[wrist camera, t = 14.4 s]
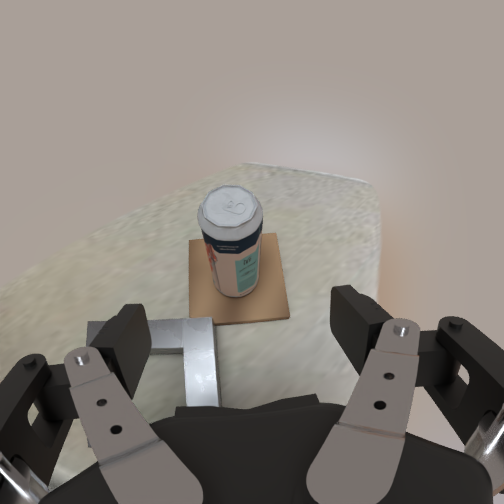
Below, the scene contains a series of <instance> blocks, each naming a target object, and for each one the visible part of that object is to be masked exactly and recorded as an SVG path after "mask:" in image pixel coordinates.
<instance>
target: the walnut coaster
mask: <svg viewBox="0 0 504 504" xmlns="http://www.w3.org/2000/svg"><path fill="white" fill-rule="evenodd" d="M189 316H190V318H201V317H212V318H213V321H214V323H215V326H217V325H230V324H242V323H253V322H263V321H273V320H282V319H289V317H290V314H289V308H288V301H287V295H286V289H285V283H284V277H283V271H282V265H281V259H280V253H279V247H278V241H277V235H276V233H268V234H262V239H261V253H260V268H259V279H258V282H257V285H256V287H255V288H254V289H253V290H252V291H251V292H250V293H248V294H247V295H245V296H242V297H229V296H226V295H224V294H222V293H221V292H219V291H218V289H217V288H216V287H215V285H214V282H213V275H212V271H211V267H210V263H209V259H208V255H207V251H206V247H205V242H204V239H196V240H189Z"/></svg>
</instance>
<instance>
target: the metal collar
mask: <svg viewBox="0 0 504 504" xmlns="http://www.w3.org/2000/svg"><path fill="white" fill-rule="evenodd" d="M106 322H107V321H88V326H87V340H86V347H88V346H89V345H90V343H91V342H92V341H93V339H94V338H95V337H96V335H97V334H98V332H99V331H100V330H101V329H102V327H103V326H104V324H105V323H106ZM147 322H148V326H149V330H150V334H151V339H152V348H151V351H150V354H184V370H185V387H186V402H187V406H216V407H222V403H221V392H220V381H219V369H218V356H217V342H216V327H215V323H214V321H213V318H212V317H201V318H185V319H166V320H147ZM87 440H88V438H87ZM88 447H90V448H92V447H91V445H90V442H89V440H88Z"/></svg>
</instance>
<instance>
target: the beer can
mask: <svg viewBox="0 0 504 504" xmlns="http://www.w3.org/2000/svg"><path fill="white" fill-rule="evenodd" d="M197 218H198V222H199V225H200V227H201V230H202V234H203V238H204V242H205V247H206V251H207V255H208V259H209V263H210V267H211V271H212V275H213V282H214V285H215V287H216V288H217V289H218V291H219V292H221V293H222V294H224V295H226V296H229V297H242V296H245V295H247V294H248V293H250V292H251V291H252V290H253V289H254V288H255V287H256V285H257V282H258V279H259V268H260V253H261V239H262V224H263V209H262V206H261V204H260V202H259V201H258V199H257V198H256V197H255V196H254V194H253V192H251V191H249V190H247V189H246V188H244V187H242V186H241V185H222V186H219V187H217V188H215V189H213V190H211V191H209V192H208V194H207V195H206V197H205V198H204V200H203V202H202V203H201V205H200V207H199V209H198V215H197Z"/></svg>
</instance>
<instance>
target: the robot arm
mask: <svg viewBox="0 0 504 504" xmlns="http://www.w3.org/2000/svg"><path fill="white" fill-rule="evenodd" d="M330 327H331V331H332V334H333V335H334V337H335V338H336V340H337V341H338V343H339V345H340V346H341V348H342V349H343V351H344V352H345V354H346V356H347V357H348V359H349V360H350V362H351V363H352V365H353V367H354V368H355V370H356V371H357V373H358V374H359V376H360V377H359V380H358V382H357V384H356V386H355V389H354V391H353V393H352V395H351V397H350V399H349V402H348V404H347V406H343V405H339V404H333V403H319V400H318V398H317V395H316V394H311V395H305V396H299V397H293V398H286V399H281V400H278V401H274V402H271V403H268V404H265V405H261V406H258V407H255V408H251V409H234V408H224V407H216V406H183V407H176V411H175V416H173V417H169V418H165V419H162V420H159V421H156V422H154V423H152V424H150V425H149V424H148V423H147V422H146V420H145V419H144V418H143V416H142V415H141V413H140V412H139V411H138V409H137V408H136V406H135V405H134V403H133V402H132V400H133V397H134V394H135V391H136V389H137V386H138V383H139V380H140V378H141V375H142V372H143V370H144V367H145V364H146V362H147V359H148V357H149V354H150V351H151V348H152V339H151V334H150V330H149V326H148V322H147V318H146V313H145V309H144V306H143V305H142V304H125V305H124V306H123V308H122V309H121V310H120V312H119V313H118V315H117V316H114V317H112V318H111V319H109V320H108V321H107V322H106V323H105V324H104V326H103V327H102V329H101V330H100V331H99V332H98V334H97V335H96V337H95V338H94V339H93V341H92V342H91V343H90V345H89V346H88V347H80V348H77V349H75V350H73V351H71V352H69V353H68V354H67V355H66V356H65V358H64V364H57V365H48V363H47V361H46V358H45V357H44V356H43V355H42V354H31V355H27V356H25V357H23V358H22V359H20V360H19V361H18V362H17V363H16V365H15V366H14V367H13V368H12V370H11V371H10V372H9V373H8V375H7V376H6V377H5V378H4V380H3V381H2V382H1V383H0V504H493V496H495V495H496V494H498V493H501V494H504V350H503V349H501V348H500V347H499V346H498V345H497V344H496V343H494V342H493V341H492V340H491V339H489V338H488V337H487V336H486V335H485V334H483V333H482V332H481V331H480V330H478V329H477V328H476V327H475V326H473V325H472V324H471V323H469V322H468V321H467V320H465V319H463V318H459V317H454V316H449V317H444V318H442V319H441V320H440V321H439V324H438V329H437V330H432V331H420V327H419V326H418V324H417V323H415V322H413V321H411V320H407V319H402V318H396V319H394V318H393V317H392V316H390V315H389V314H388V313H387V312H386V311H385V310H384V309H383V308H382V307H381V306H380V305H379V304H377V303H376V302H375V301H374V300H373V299H372V298H371V297H368V296H366V295H364V294H359V293H358V292H357V291H356V290H355V289H354V288H353V287H352V286H351V285H343V286H335V287H332V290H331V305H330ZM461 364H462V365H463V366H464V367H465V369H466V370H467V371H468V373H469V384H468V385H467V384H466V383H465V382H464V381H463V380H462V378H461V377H460V376H459V375H458V372H459V369H460V366H461ZM420 386H423V387H424V388H425V390H426V391H427V392H428V394H429V395H430V396H431V398H432V399H433V401H434V402H435V404H436V405H437V406H438V408H439V409H440V411H441V412H442V413H443V415H444V416H445V418H446V419H447V420H448V422H449V423H450V425H451V426H452V428H453V429H454V431H455V432H456V434H457V435H458V436H459V438H460V439H461V441H462V442H463V444H464V445H465V449H464V453H463V452H460V451H457V450H454V449H451V448H448V447H445V446H442V445H439V444H437V443H434V442H431V441H428V440H426V439H423V438H421V437H418V436H415V435H413V434H410V433H408V432H406V428H407V423H408V419H409V414H410V409H411V405H412V400H413V394H414V389H415V387H420ZM32 403H34V405H35V406H36V408H37V410H38V411H39V413H38V415H37V417H36V419H35V421H34V422H33V424H32V426H31V425H30V424H29V421H28V410H29V409H30V407H31V405H32ZM77 418H80V420H81V423H82V426H83V428H84V431H85V433H86V435H87V438H88V440H89V442H90V445H91V447H92V449H93V451H94V454H95V456H96V458H97V460H98V461H97V462H96V463H94V464H93V465H91V466H90V467H88V468H87V469H86V470H84V471H83V472H81V473H80V474H78V475H76V476H75V477H73V478H72V479H70V480H69V481H67V482H66V483H64V484H63V485H61V486H59V487H58V488H56V489H55V490H53V491H51V492H49V489H48V485H49V482H50V479H51V476H52V473H53V471H54V468H55V465H56V462H57V460H58V457H59V454H60V452H61V449H62V447H63V444H64V442H65V439H66V437H67V434H68V432H69V429H70V427H71V425H72V422H73V419H77Z"/></svg>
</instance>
